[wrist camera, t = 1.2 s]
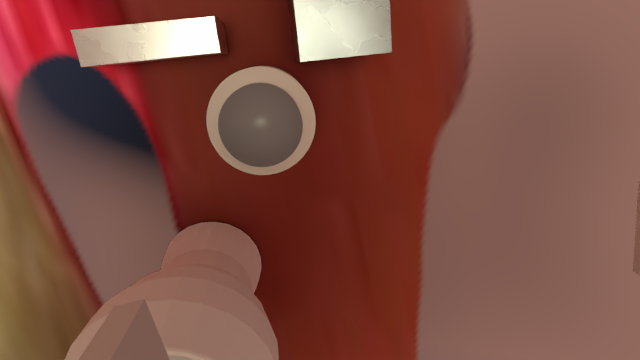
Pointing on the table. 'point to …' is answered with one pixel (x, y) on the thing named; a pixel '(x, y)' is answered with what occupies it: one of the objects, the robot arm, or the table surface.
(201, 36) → the motor bracket
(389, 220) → the table surface
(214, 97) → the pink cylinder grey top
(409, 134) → the table surface
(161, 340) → the robot arm
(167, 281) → the cup
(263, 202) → the table surface
